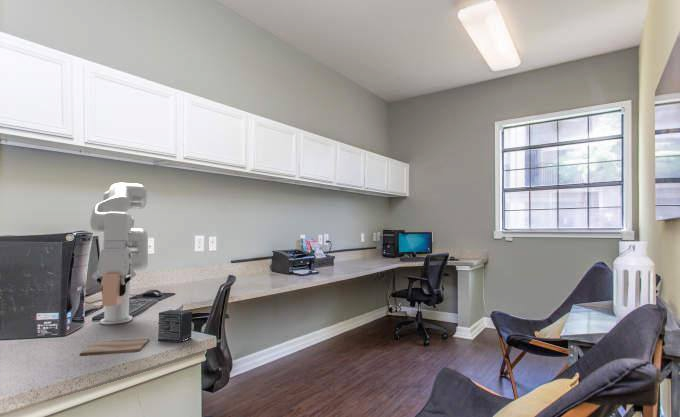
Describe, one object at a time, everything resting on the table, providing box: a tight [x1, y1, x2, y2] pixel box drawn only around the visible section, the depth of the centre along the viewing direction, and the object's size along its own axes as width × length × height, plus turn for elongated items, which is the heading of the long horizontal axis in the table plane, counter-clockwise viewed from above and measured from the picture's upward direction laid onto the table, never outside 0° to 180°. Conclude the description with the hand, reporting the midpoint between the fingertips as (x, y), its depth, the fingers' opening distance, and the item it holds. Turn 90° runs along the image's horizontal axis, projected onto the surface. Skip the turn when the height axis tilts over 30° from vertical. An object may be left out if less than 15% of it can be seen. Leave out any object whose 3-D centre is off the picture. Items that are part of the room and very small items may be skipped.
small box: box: [157, 309, 193, 343], centre depth 139 cm, size 11×6×10 cm, turn 74°
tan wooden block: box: [101, 273, 125, 307], centre depth 133 cm, size 9×5×11 cm, turn 14°
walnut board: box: [79, 338, 150, 356], centre depth 129 cm, size 12×18×1 cm, turn 103°
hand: (113, 295), depth 133 cm, fingers closed on tan wooden block, 4 cm apart
